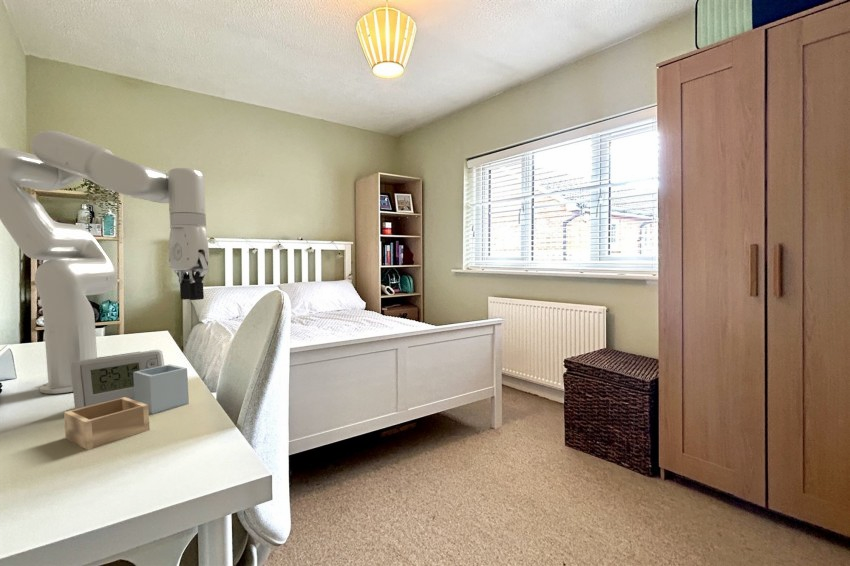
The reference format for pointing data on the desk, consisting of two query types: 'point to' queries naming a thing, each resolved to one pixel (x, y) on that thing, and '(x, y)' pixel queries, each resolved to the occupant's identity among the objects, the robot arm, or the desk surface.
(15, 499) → the desk surface
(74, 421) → the oak box
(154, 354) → the digital clock
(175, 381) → the light blue pen cup
